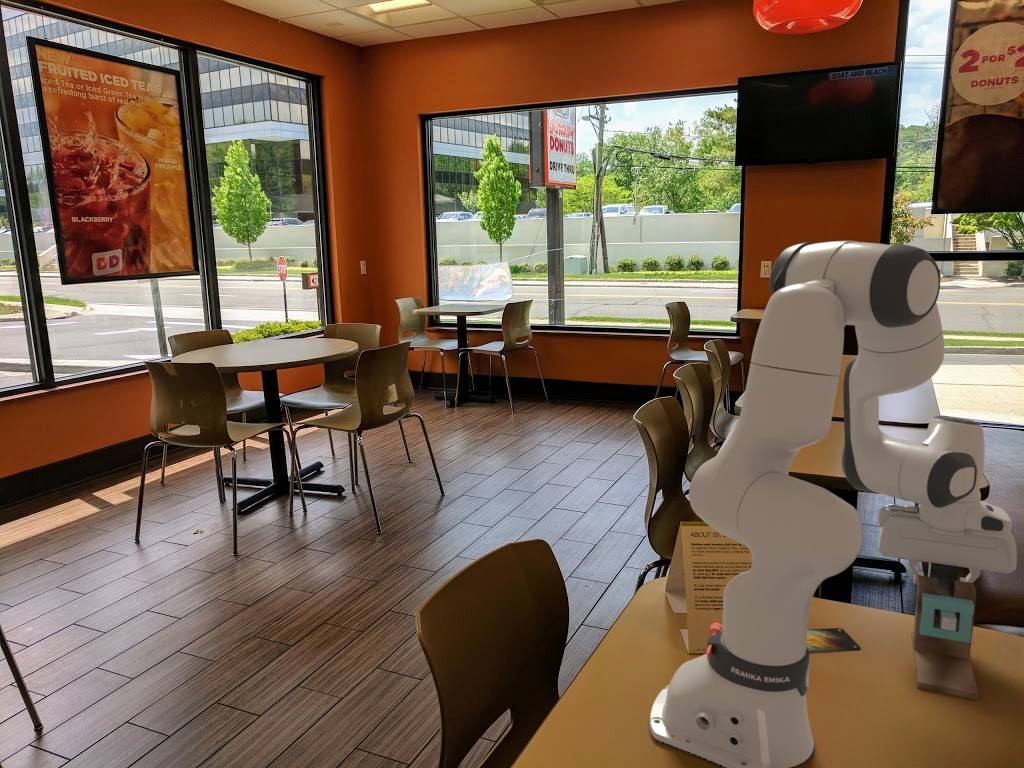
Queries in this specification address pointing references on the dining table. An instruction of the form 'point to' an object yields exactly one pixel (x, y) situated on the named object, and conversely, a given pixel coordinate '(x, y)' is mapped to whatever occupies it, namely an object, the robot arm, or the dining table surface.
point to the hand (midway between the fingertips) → (941, 586)
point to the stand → (943, 648)
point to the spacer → (948, 604)
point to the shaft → (945, 591)
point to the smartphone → (830, 641)
